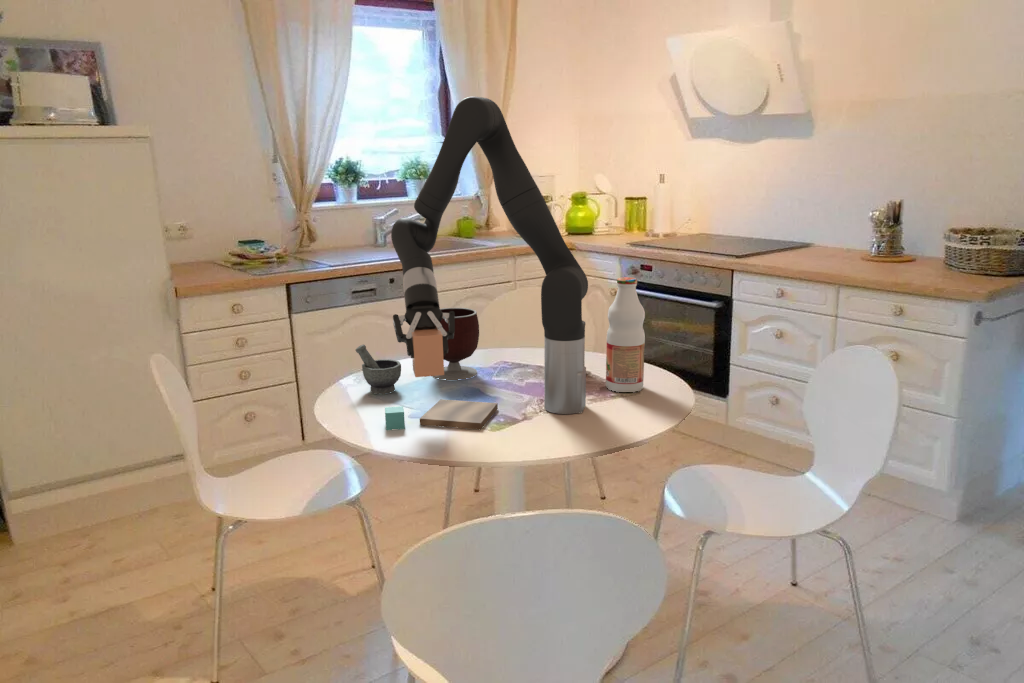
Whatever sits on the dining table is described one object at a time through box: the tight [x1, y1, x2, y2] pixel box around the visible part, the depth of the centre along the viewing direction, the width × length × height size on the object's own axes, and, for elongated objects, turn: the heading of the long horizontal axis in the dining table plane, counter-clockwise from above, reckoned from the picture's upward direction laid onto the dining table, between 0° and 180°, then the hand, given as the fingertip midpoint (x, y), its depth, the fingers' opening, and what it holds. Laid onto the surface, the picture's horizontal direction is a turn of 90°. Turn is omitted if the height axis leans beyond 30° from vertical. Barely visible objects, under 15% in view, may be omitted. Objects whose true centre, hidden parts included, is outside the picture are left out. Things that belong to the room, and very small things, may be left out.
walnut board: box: [419, 398, 498, 431], centre depth 175 cm, size 14×14×2 cm
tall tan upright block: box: [411, 329, 445, 378], centre depth 168 cm, size 6×6×9 cm
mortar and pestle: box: [355, 344, 402, 395], centre depth 194 cm, size 11×9×12 cm
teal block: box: [384, 405, 406, 431], centre depth 169 cm, size 4×4×4 cm
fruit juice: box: [605, 276, 646, 393], centre depth 192 cm, size 9×9×28 cm
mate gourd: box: [432, 307, 480, 381], centre depth 207 cm, size 16×14×20 cm
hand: (428, 355), depth 167 cm, fingers closed on tall tan upright block, 6 cm apart
